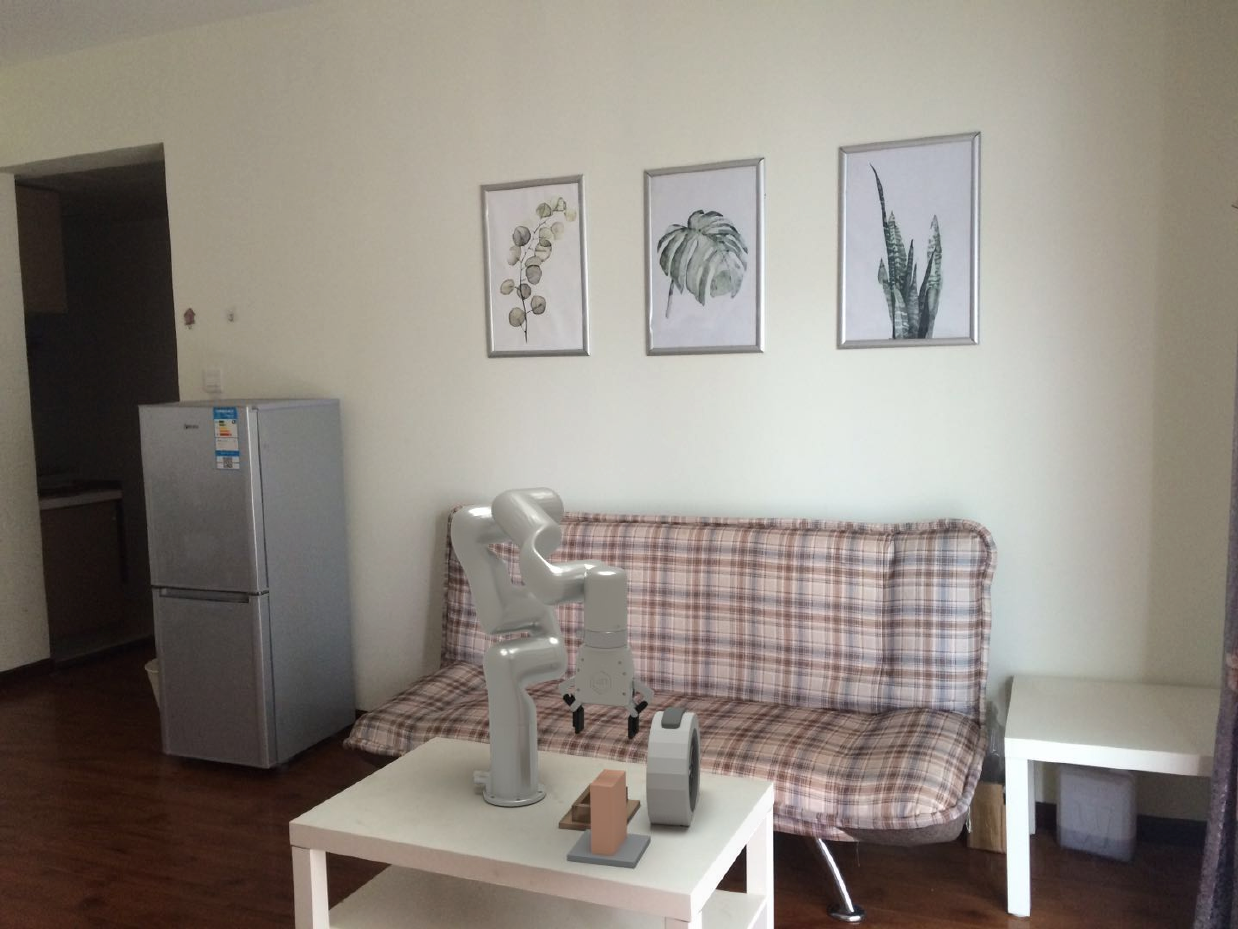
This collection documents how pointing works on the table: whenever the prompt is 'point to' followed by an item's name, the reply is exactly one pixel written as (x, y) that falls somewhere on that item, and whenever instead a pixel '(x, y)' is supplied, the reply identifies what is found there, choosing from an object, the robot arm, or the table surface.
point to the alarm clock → (673, 767)
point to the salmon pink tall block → (608, 812)
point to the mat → (623, 857)
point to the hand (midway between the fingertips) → (605, 734)
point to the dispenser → (581, 812)
